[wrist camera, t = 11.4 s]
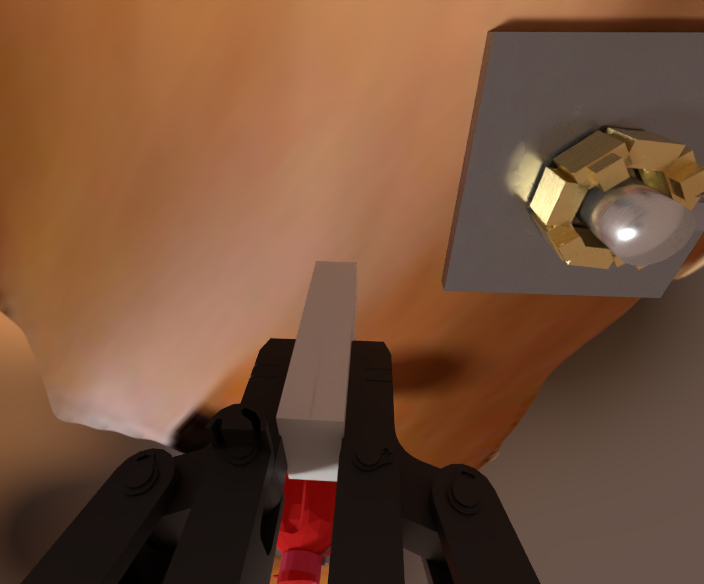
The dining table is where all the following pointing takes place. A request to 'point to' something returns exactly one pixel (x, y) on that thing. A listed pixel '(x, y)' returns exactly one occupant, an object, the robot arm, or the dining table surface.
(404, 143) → the dining table surface
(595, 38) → the housing
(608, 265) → the ring nut
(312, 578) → the water bottle
